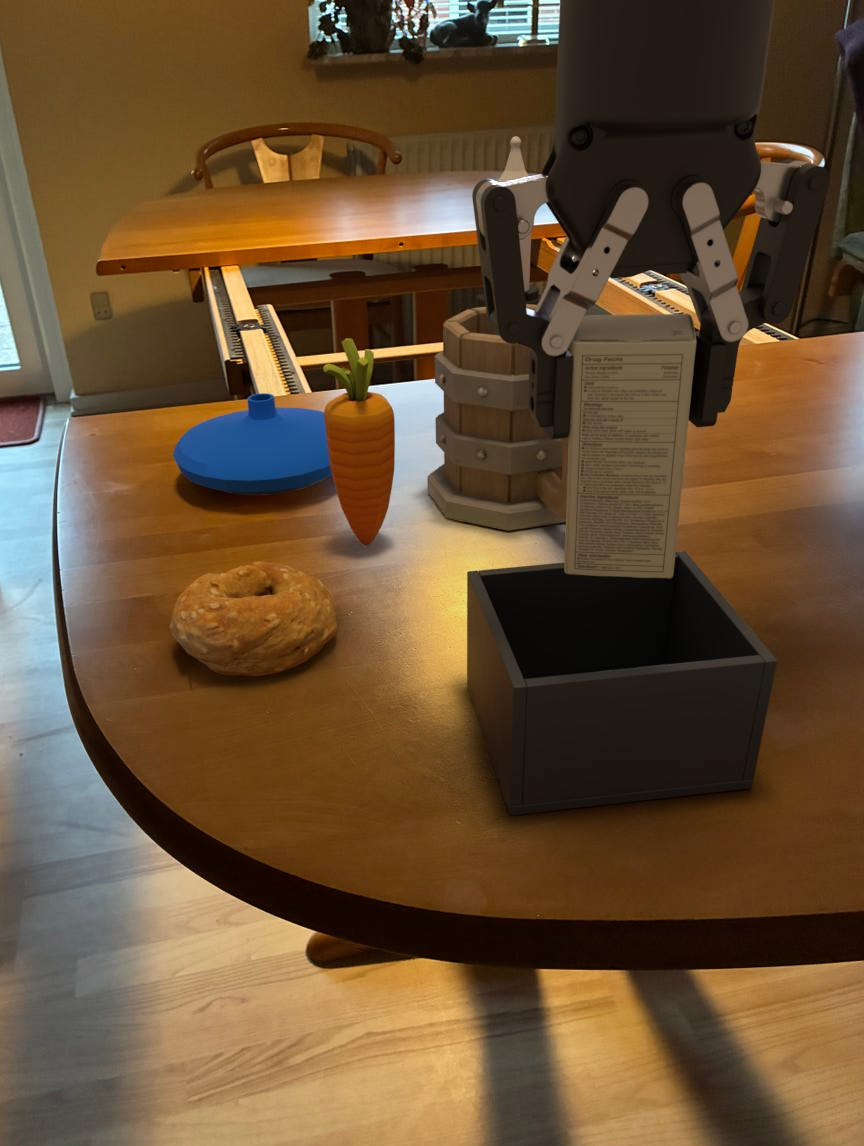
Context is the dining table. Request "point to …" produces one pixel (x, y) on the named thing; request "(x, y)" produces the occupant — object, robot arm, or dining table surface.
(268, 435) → the vase
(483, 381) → the tankard
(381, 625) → the dining table surface
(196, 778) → the dining table surface
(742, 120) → the robot arm
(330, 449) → the carrot
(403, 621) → the dining table surface
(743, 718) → the bin
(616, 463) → the box
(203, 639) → the bagel
